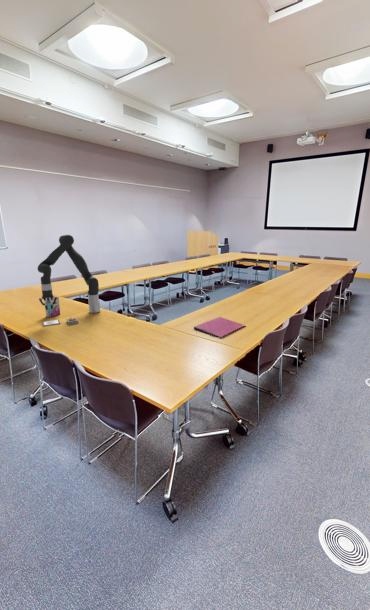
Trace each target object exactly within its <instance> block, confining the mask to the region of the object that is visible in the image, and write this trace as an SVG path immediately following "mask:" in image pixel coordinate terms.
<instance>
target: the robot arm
mask: <svg viewBox="0 0 370 610" xmlns="http://www.w3.org/2000/svg"><path fill="white" fill-rule="evenodd" d="M58 242H59V245H58V246H57V247H56V248H55V249H53V251H51V253H50V254H48V256H47V257H46V258H45V259H44V260H42V261H41V262H40V263H39V264H38V266H37V271H38V272H39V273H41V274H43V275H42V276H41V277H40V285H41V286H40V287H41V295H42V296H41V297H39V298H38V300H39V302H40V304H42V306H44V308H45V309H46V310H47V300H50V303H51V309H53V304H55V302H56V299H57V297H58V296H54V295H53V286H52V282H51V281H52V280H51V276H52V268H51V266H53V265H55V264H56V263H57V261H58V260H59V258H61V256H62V255H63V254H64V253H65V252H66V253H67V256H69V258H70V259H71V261H72V263H73V264H74V266H75V267H76V269H77V271H79V273H80V274H81V276H82V279H83V280H84V282H85V283H86V285H87V287H88V291H87V297H88V298H87V299H88V311H89V313H90V314H96V313H100V312H101V306H100V305H101V304H100V301H99V291H100V289H99V288H100V287H99V286H100V285H99V284H100V283H99V280H98V278H96V277H95V276H93V275H92V274H91V272H90V271H89V267H88V264H87V262H86V260H85V259H84V257H83V256H82V254H80V253H79V252H78V251H77V250H76V249H74V247H73V244H74V243H75V239H74V237H73V235H70V234H65V235H61V236H59V239H58ZM53 298H54V301H53V303H52V301H51V300H52V299H53ZM44 300H45V301H44ZM46 310H45V311H46Z"/></svg>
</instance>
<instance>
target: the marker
mask: <svg viewBox="0 0 370 610" xmlns="http://www.w3.org/2000/svg"><path fill="white" fill-rule="evenodd" d="M47 312H52V309H51V303H50V300H47Z"/></svg>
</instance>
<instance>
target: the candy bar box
mask: <svg viewBox="0 0 370 610" xmlns="http://www.w3.org/2000/svg"><path fill="white" fill-rule="evenodd" d="M56 297H57V299H56V302H55V304H53V309H52V312H47V310H46V309H45V316H46V317H48V318H52V317H55V316H58V315H61V310H60V308H61V307H60V300H59V298H60V297H59V296H56ZM51 301H52V303H53V301H54V298H53V299H52V300H51ZM43 302H45V300H44V299H43Z"/></svg>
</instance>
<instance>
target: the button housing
mask: <svg viewBox="0 0 370 610" xmlns="http://www.w3.org/2000/svg"><path fill="white" fill-rule="evenodd" d="M74 318H75V320H74V321H70V318H66V323H67V324H68V326H69V325H76V324H79V319H78V318H77V317H74Z"/></svg>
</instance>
